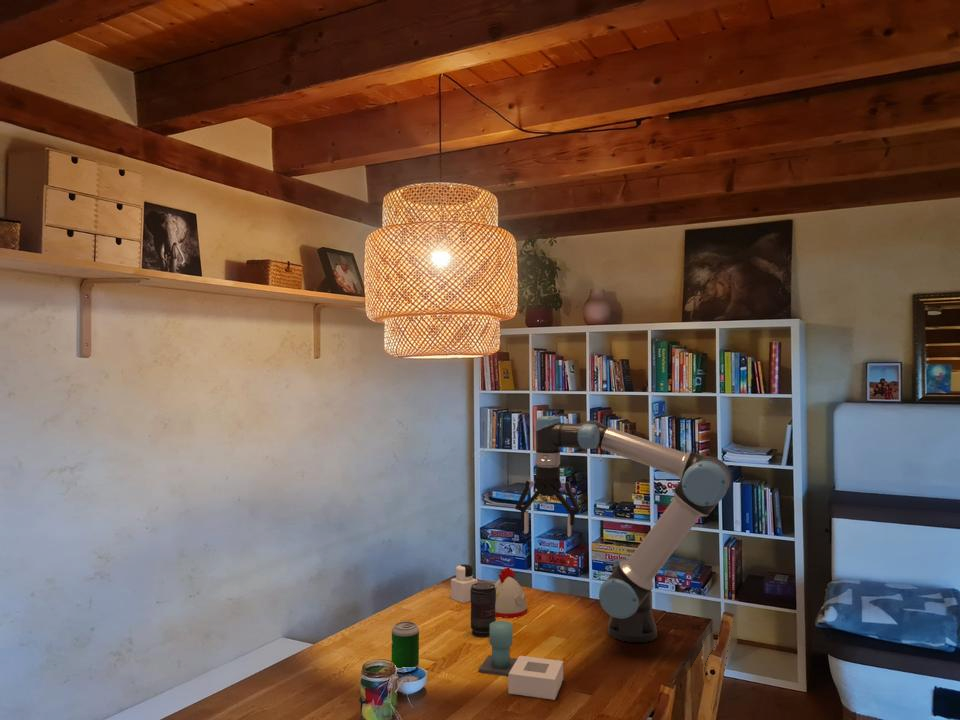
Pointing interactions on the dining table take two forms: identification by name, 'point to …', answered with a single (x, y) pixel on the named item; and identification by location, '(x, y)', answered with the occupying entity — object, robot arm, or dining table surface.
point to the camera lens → (482, 608)
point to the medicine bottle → (462, 583)
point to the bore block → (536, 677)
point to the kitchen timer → (509, 596)
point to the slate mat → (488, 668)
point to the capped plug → (501, 643)
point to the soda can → (405, 645)
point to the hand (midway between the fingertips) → (547, 534)
